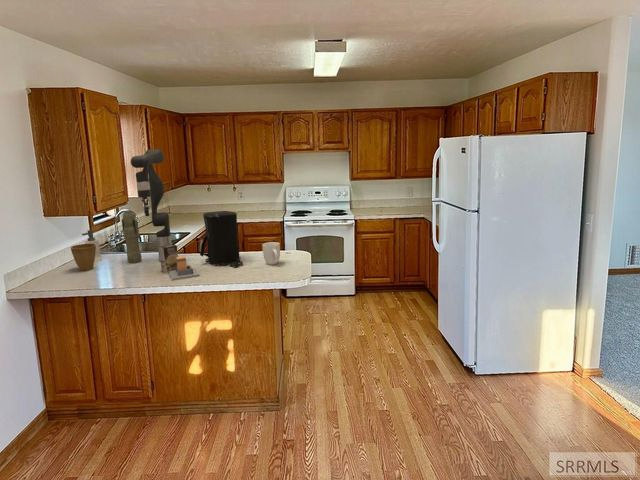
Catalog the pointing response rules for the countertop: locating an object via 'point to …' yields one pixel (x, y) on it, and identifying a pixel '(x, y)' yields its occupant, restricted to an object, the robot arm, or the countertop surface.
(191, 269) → the end holder
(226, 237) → the coffee maker
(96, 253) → the soap dispenser
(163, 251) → the coffee box
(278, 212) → the countertop surface
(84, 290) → the countertop surface
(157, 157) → the robot arm
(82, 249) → the plant pot
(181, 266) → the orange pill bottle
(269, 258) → the mug
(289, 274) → the countertop surface
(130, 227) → the thermos
